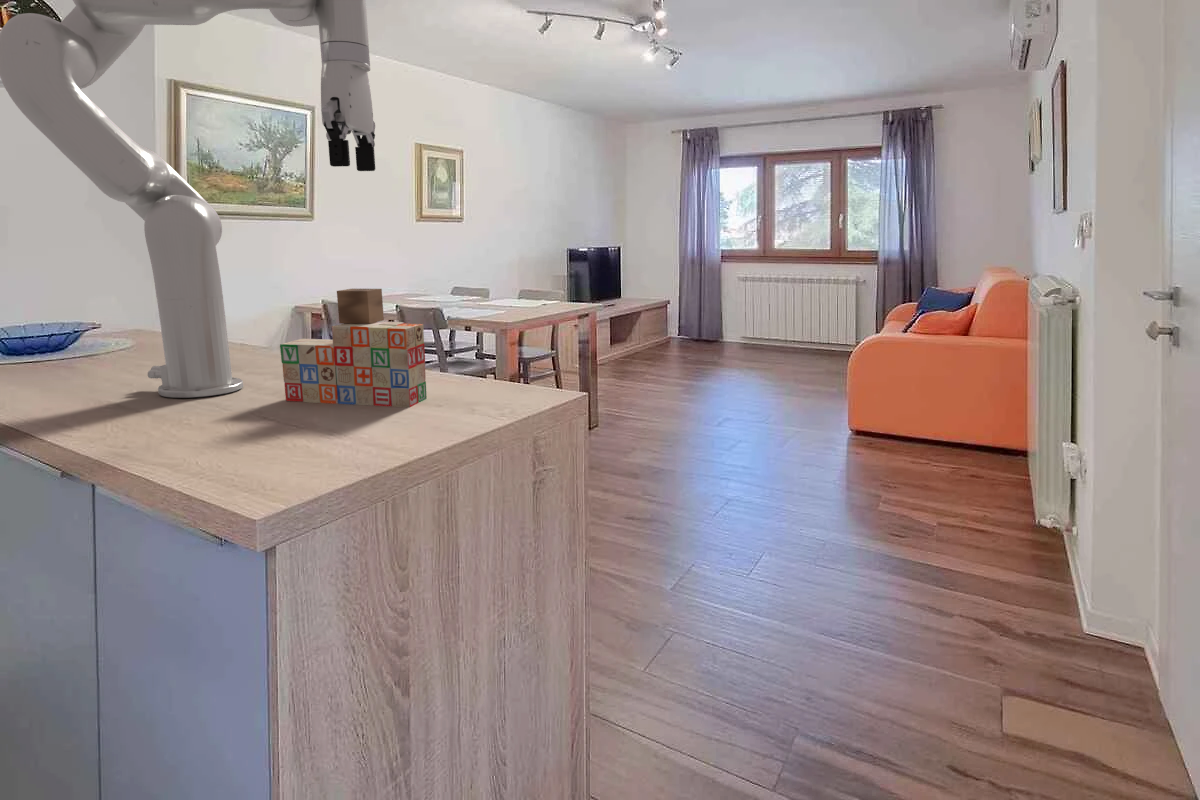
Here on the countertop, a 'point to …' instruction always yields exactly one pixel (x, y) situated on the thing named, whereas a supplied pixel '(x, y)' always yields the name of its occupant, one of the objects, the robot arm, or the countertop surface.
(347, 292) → the walnut cube
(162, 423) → the countertop surface
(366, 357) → the stack of blocks
